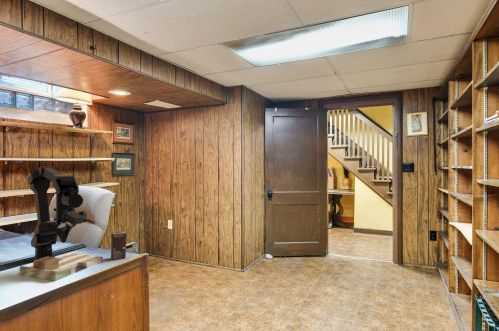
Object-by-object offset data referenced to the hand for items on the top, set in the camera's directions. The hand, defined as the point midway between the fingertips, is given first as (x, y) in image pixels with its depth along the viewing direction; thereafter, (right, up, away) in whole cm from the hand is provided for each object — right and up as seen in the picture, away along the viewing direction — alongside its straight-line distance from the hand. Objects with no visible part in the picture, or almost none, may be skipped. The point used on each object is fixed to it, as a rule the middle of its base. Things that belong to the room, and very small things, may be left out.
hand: (63, 242), depth 127 cm
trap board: (0, -11, +1) cm, 11 cm away
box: (+17, -11, +14) cm, 25 cm away
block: (-3, -9, -7) cm, 12 cm away
